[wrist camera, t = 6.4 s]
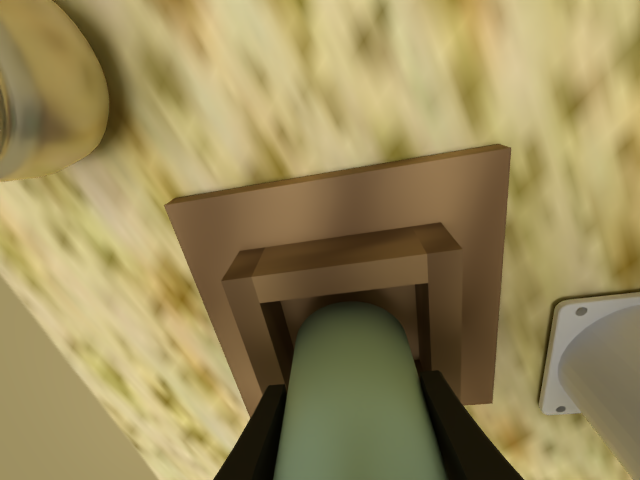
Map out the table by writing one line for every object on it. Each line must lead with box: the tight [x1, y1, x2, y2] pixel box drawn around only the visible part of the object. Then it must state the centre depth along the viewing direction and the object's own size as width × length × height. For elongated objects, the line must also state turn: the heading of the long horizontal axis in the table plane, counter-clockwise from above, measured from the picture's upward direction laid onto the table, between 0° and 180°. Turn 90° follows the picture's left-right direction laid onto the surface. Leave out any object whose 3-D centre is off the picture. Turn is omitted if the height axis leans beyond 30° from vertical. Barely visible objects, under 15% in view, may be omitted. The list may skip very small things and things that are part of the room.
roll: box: [273, 301, 449, 480], centre depth 10 cm, size 5×5×8 cm
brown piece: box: [164, 144, 511, 418], centre depth 15 cm, size 14×14×4 cm
